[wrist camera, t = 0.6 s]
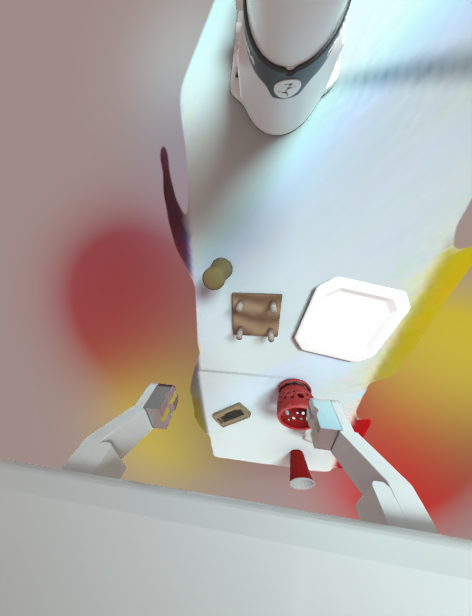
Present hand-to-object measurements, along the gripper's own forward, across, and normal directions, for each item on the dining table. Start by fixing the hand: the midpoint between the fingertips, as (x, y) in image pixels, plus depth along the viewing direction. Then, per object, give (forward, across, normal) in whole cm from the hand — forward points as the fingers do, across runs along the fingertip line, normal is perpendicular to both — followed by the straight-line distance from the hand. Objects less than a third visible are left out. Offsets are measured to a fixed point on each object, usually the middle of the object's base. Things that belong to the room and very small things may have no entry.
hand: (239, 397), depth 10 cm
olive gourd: (+40, +9, +2) cm, 41 cm away
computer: (+41, +9, +67) cm, 79 cm away
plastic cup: (+41, -23, +93) cm, 104 cm away
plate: (+41, -27, +17) cm, 52 cm away
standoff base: (+40, -1, +16) cm, 43 cm away
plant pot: (+40, -15, +47) cm, 64 cm away
